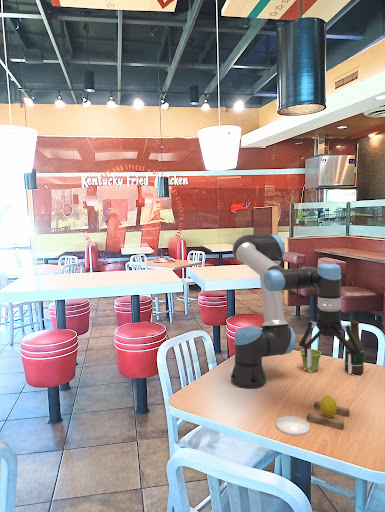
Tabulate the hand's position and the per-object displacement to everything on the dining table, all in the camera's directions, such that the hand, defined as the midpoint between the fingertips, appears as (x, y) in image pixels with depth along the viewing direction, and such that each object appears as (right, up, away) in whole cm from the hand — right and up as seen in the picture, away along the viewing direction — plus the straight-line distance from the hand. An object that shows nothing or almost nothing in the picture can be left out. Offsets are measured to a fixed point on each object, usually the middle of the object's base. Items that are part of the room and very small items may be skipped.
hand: (329, 369), depth 135 cm
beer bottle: (+26, -14, +42) cm, 51 cm away
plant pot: (+8, -14, +46) cm, 49 cm away
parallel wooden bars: (0, -17, +2) cm, 17 cm away
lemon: (0, -18, +2) cm, 18 cm away
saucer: (-14, -18, -4) cm, 23 cm away
